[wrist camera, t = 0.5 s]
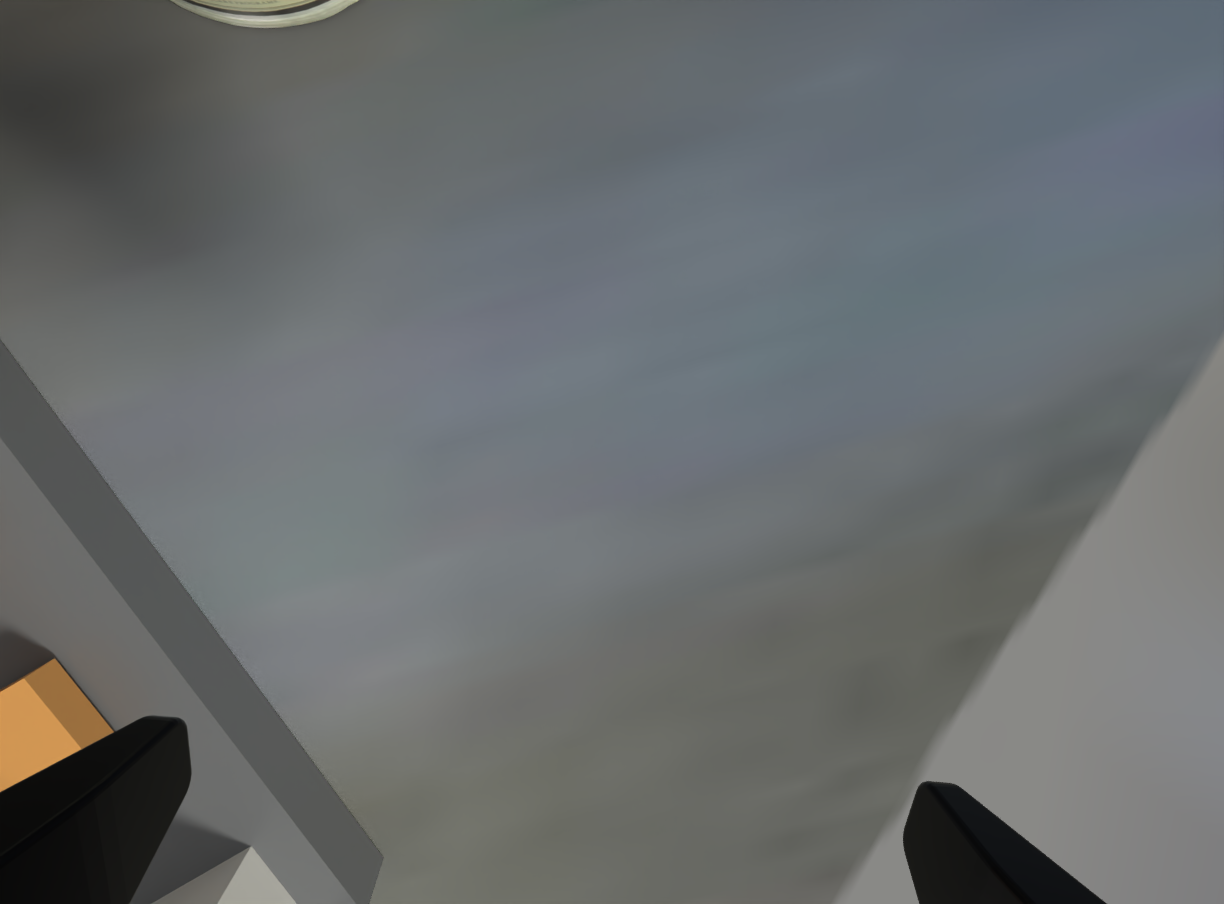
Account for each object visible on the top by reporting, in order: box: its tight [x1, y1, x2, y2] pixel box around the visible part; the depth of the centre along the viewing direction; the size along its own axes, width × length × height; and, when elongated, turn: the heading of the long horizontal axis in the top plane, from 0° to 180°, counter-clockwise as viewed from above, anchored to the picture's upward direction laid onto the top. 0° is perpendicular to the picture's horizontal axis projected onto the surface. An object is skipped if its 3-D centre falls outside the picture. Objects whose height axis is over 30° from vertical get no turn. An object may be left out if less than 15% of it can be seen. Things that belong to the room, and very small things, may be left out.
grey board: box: [0, 340, 384, 904], centre depth 20 cm, size 8×28×2 cm, turn 29°
